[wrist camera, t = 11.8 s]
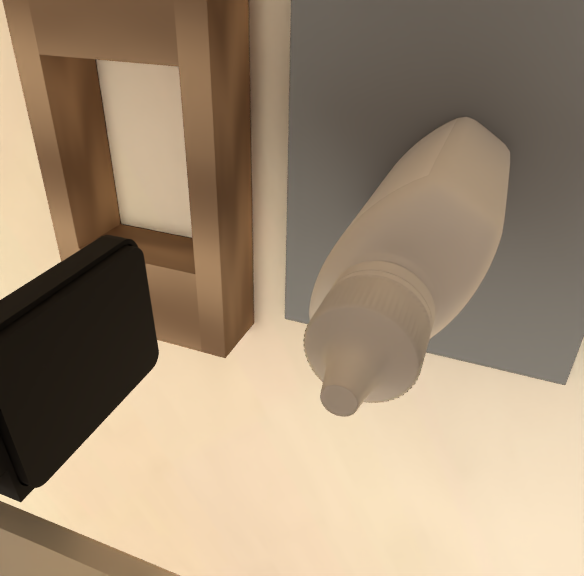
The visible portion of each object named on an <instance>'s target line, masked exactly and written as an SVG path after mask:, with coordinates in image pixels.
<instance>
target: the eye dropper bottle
mask: <svg viewBox="0 0 584 576" xmlns="http://www.w3.org/2000/svg"><path fill="white" fill-rule="evenodd" d="M509 170H510V151H509V150H508V148H507V146H506V145H505V144H504V143H503V142H502V141H501V140H500V139H498V138H497V137H496V136H495V135H494V134H492V133H491V132H490V131H489V130H487V129H486V128H485V127H484V126H483V125H481V124H480V123H479V122H477V121H476V120H474V119H471V118H469V117H461V118H456V119H454V120H452V121H450V122H448V123H446V124H444V125H442V126H440V127H439V128H437V129H435V130H434V131H432V132H431V133H429V134H428V135H427V136H425V137H424V138H422V139H421V140H420V141H419V142H417V143H416V144H415V145H414V146H413V147H412V148H411V149H409V150H408V151H407V152H406V153H405V154H404V155H403V156H402V157H401V159H400V160H399V161H398V162H397V163H396V164H395V166H394V167H393V168H392V169H391V171H390V172H389V173H388V175H387V176H386V177H385V179H384V180H383V181H382V183H381V184H380V185H379V187H378V188H377V189H376V191H375V192H374V193H373V195H372V196H371V197H370V199H369V200H368V201H367V203H366V204H365V205H364V207H363V208H362V209H361V211H360V212H359V213H358V215H357V216H356V217H355V219H354V220H353V221H352V223H351V224H350V225H349V227H348V228H347V229H346V231H345V232H344V233H343V235H342V236H341V237H340V239H339V240H338V241H337V243H336V244H335V246H334V247H333V249H332V250H331V252H330V253H329V255H328V257H327V258H326V260H325V262H324V264H323V266H322V268H321V270H320V272H319V274H318V277H317V280H316V282H315V285H314V289H313V292H312V296H311V301H310V308H309V317H310V321H309V323H308V325H307V328H306V330H305V332H306V333H305V334H304V337H305V338H304V348H305V349H304V351H305V353H306V355H305V356H306V357H307V361H308V362H309V364H310V367H311V368H312V370H313V371H314V373H315V374H316V376H317V377H318V378H319V379H320V380H321V381H322V382H323V385H322V390H321V395H320V398H321V402H322V404H323V406H324V407H325V408H326V409H327V410H328V411H329V412H331V413H333V414H335V415H338V416H350V415H352V414H354V413H355V412H356V411H357V409H358V408H359V407H360V405H361V404H362V403H363V402H368V403H378V402H384V401H389V400H394V399H395V398H399V396H401V395H404V393H406V392H408V390H409V389H411V388H412V385H414V384H415V382H416V380H418V376H419V375H420V372H421V368H422V364H423V361H424V357H425V353H426V350H427V346H428V343H429V339H430V338H432V337H433V336H434V335H436V334H437V333H438V332H440V331H441V330H442V329H443V328H444V327H445V326H446V325H448V324H449V323H450V322H451V321H452V320H453V319H454V318H455V317H456V316H457V315H458V314H459V312H460V311H461V310H462V309H463V308H464V306H465V305H466V304H467V303H468V301H469V300H470V299H471V297H472V296H473V294H474V293H475V292H476V290H477V289H478V287H479V285H480V283H481V282H482V280H483V278H484V277H485V275H486V273H487V271H488V269H489V267H490V265H491V263H492V260H493V258H494V256H495V253H496V251H497V248H498V245H499V242H500V239H501V236H502V231H503V225H504V219H505V210H506V200H507V191H508V180H509Z"/></svg>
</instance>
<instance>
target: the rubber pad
mask: <svg viewBox="0 0 584 576" xmlns="http://www.w3.org/2000/svg"><path fill="white" fill-rule="evenodd" d="M461 117H469V118H471V119H474V120H476V121H477V122H479V123H480V124H481V125H483V126H484V127H485V128H486V129H487V130H489V131H490V132H491V133H492V134H494V135H495V136H496V137H497V138H498V139H500V140H501V141H502V142H503V143H504V144H505V145H506V146H507V148H508V150H509V151H510V170H509V180H508V191H507V200H506V210H505V219H504V225H503V231H502V236H501V239H500V242H499V245H498V248H497V251H496V253H495V256H494V258H493V260H492V263H491V265H490V267H489V269H488V271H487V273H486V275H485V277H484V278H483V280H482V282H481V283H480V285H479V287H478V289H477V290H476V292H475V293H474V294H473V296H472V297H471V299H470V300H469V301H468V303H467V304H466V305H465V306H464V308H463V309H462V310H461V311H460V312H459V314H458V315H457V316H456V317H455V318H454V319H453V320H452V321H451V322H450V323H449V324H448V325H446V326H445V327H444V328H443V329H442V330H441V331H440V332H438V333H437V334H436V335H434V336H433V337H432V338H430V339H429V343H428V346H427V350H426V352H427V353H432V354H436V355H440V356H444V357H448V358H453V359H457V360H461V361H465V362H470V363H474V364H478V365H482V366H486V367H491V368H495V369H499V370H503V371H507V372H512V373H516V374H520V375H524V376H528V377H533V378H537V379H541V380H545V381H550V382H554V383H558V384H562V385H566V382H567V379H568V377H569V374H570V371H571V369H572V366H573V363H574V361H575V358H576V355H577V353H578V350H579V347H580V345H581V342H582V339H583V337H584V0H291V37H290V87H289V137H288V187H287V237H286V287H285V319H288V320H293V321H297V322H301V323H305V324H308V323H309V321H310V317H309V308H310V301H311V296H312V292H313V289H314V285H315V282H316V280H317V277H318V274H319V272H320V270H321V268H322V266H323V264H324V262H325V260H326V258H327V257H328V255H329V253H330V252H331V250H332V249H333V247H334V246H335V244H336V243H337V241H338V240H339V239H340V237H341V236H342V235H343V233H344V232H345V231H346V229H347V228H348V227H349V225H350V224H351V223H352V221H353V220H354V219H355V217H356V216H357V215H358V213H359V212H360V211H361V209H362V208H363V207H364V205H365V204H366V203H367V201H368V200H369V199H370V197H371V196H372V195H373V193H374V192H375V191H376V189H377V188H378V187H379V185H380V184H381V183H382V181H383V180H384V179H385V177H386V176H387V175H388V173H389V172H390V171H391V169H392V168H393V167H394V166H395V164H396V163H397V162H398V161H399V160H400V159H401V157H402V156H403V155H404V154H405V153H406V152H407V151H408V150H409V149H411V148H412V147H413V146H414V145H415V144H416V143H417V142H419V141H420V140H421V139H422V138H424V137H425V136H427V135H428V134H429V133H431V132H432V131H434V130H435V129H437V128H439V127H440V126H442V125H444V124H446V123H448V122H450V121H452V120H454V119H456V118H461Z"/></svg>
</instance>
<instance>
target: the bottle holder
mask: <svg viewBox="0 0 584 576" xmlns="http://www.w3.org/2000/svg"><path fill="white" fill-rule="evenodd" d="M3 5H4V9H5V14H6V18H7V22H8V27H9V31H10V36H11V40H12V45H13V49H14V53H15V58H16V62H17V67H18V71H19V76H20V80H21V85H22V89H23V93H24V98H25V102H26V107H27V111H28V116H29V120H30V124H31V129H32V133H33V138H34V142H35V147H36V151H37V155H38V160H39V164H40V169H41V173H42V178H43V182H44V187H45V191H46V195H47V200H48V204H49V209H50V213H51V218H52V222H53V226H54V231H55V235H56V240H57V244H58V249H59V253H60V258H61V262H62V261H63V260H65V259H66V258H68V257H70V256H71V255H73V254H74V253H76V252H78V251H79V250H81V249H82V248H84V247H85V246H87V245H89V244H90V243H92V242H93V241H95V240H97V239H98V238H100V237H101V236H104V235H113V236H118V237H123V238H128V239H132V240H134V241H135V242H136V244H137V245H138V248H140V249H141V250H142V252H143V254H144V259H145V266H146V272H147V279H148V285H149V292H150V298H151V305H152V311H153V317H154V324H155V330H156V337H157V340H160V341H164V342H168V343H171V344H175V345H179V346H182V347H186V348H190V349H193V350H197V351H201V352H204V353H208V354H212V355H215V356H219V357H223V358H226V357H227V356H228V354H229V353H230V352H231V351H232V349H233V348H234V347H235V346H236V344H237V343H238V342H239V341H240V340H241V338H242V337H243V336H244V335H245V333H246V332H247V331H248V330H249V329H250V327H251V326H252V325H253V324H254V310H253V249H252V189H251V128H250V67H249V6H248V0H3ZM95 59H98V60H109V61H121V62H133V63H145V64H157V65H168V66H179V75H180V87H181V100H182V112H183V125H184V137H185V150H186V162H187V175H188V187H189V200H190V212H191V225H192V237H193V238H188V237H183V236H178V235H172V234H167V233H162V232H157V231H152V230H147V229H142V228H137V227H132V226H127V225H122V224H121V223H120V217H119V210H118V204H117V197H116V191H115V184H114V178H113V171H112V165H111V158H110V152H109V145H108V139H107V133H106V126H105V120H104V113H103V107H102V100H101V94H100V87H99V81H98V74H97V68H96V61H95Z"/></svg>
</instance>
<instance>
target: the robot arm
mask: <svg viewBox="0 0 584 576" xmlns="http://www.w3.org/2000/svg"><path fill="white" fill-rule="evenodd" d="M158 355H159V350H158V343H157V337H156V330H155V324H154V317H153V311H152V305H151V298H150V292H149V285H148V279H147V272H146V266H145V259H144V254H143V252H142V250H141V249H140V248H138V245H137V244H136V242H135V241H134V240H132V239H128V238H123V237H118V236H113V235H104V236H101V237H100V238H98V239H97V240H95V241H93V242H92V243H90V244H89V245H87V246H85V247H84V248H82V249H81V250H79V251H78V252H76V253H74V254H73V255H71V256H70V257H68V258H66V259H65V260H63V261H62V262H60V263H58V264H57V265H55V266H54V267H52V268H51V269H49V270H47V271H46V272H44V273H43V274H41V275H39V276H38V277H36V278H35V279H33V280H31V281H30V282H28V283H27V284H25V285H24V286H22V287H20V288H19V289H17V290H16V291H14V292H12V293H11V294H9V295H8V296H6V297H5V298H3V299H1V300H0V494H2V495H4V496H7V497H9V498H12V499H14V500H16V501H19V502H22V501H23V500H24V499H25V497H26V496H27V495H28V494H29V493H30V492H31V491H32V490H33V489H34V488H37V487H40V486H42V485H44V484H45V483H46V482H47V481H48V480H49V479H50V478H51V477H52V476H53V475H54V473H55V472H56V471H57V470H58V469H59V468H60V467H61V466H62V465H63V464H64V463H65V462H66V461H67V460H68V458H69V457H70V456H71V455H72V454H73V453H74V452H75V451H76V450H77V449H78V448H79V447H80V446H81V445H82V444H83V442H84V441H85V440H86V439H87V438H88V437H89V436H90V435H91V434H92V433H93V432H94V431H95V430H96V429H97V427H98V426H99V425H100V424H101V423H102V422H103V421H104V420H105V419H106V418H107V417H108V416H109V415H110V414H111V412H112V411H113V410H114V409H115V408H116V407H117V406H118V405H119V404H120V403H121V402H122V401H123V400H124V399H125V397H126V396H127V395H128V394H129V393H130V392H131V391H132V390H133V389H134V388H135V387H136V386H137V385H138V384H139V383H140V381H141V380H142V379H143V378H144V377H145V376H146V375H147V374H148V373H149V372H150V371H151V370H152V369H153V367H154V366H155V364H156V362H157V359H158ZM0 576H180V575H177V574H175V573H173V572H170V571H168V570H165V569H163V568H161V567H158V566H156V565H153V564H151V563H149V562H146V561H144V560H142V559H139V558H137V557H134V556H132V555H130V554H127V553H125V552H122V551H120V550H118V549H115V548H113V547H110V546H108V545H106V544H103V543H101V542H98V541H96V540H94V539H91V538H89V537H86V536H84V535H82V534H79V533H77V532H74V531H72V530H69V529H67V528H65V527H62V526H60V525H57V524H55V523H52V522H50V521H48V520H45V519H43V518H40V517H38V516H35V515H33V514H31V513H28V512H26V511H23V510H21V509H18V508H16V507H14V506H11V505H9V504H6V503H4V502H1V501H0Z"/></svg>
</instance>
